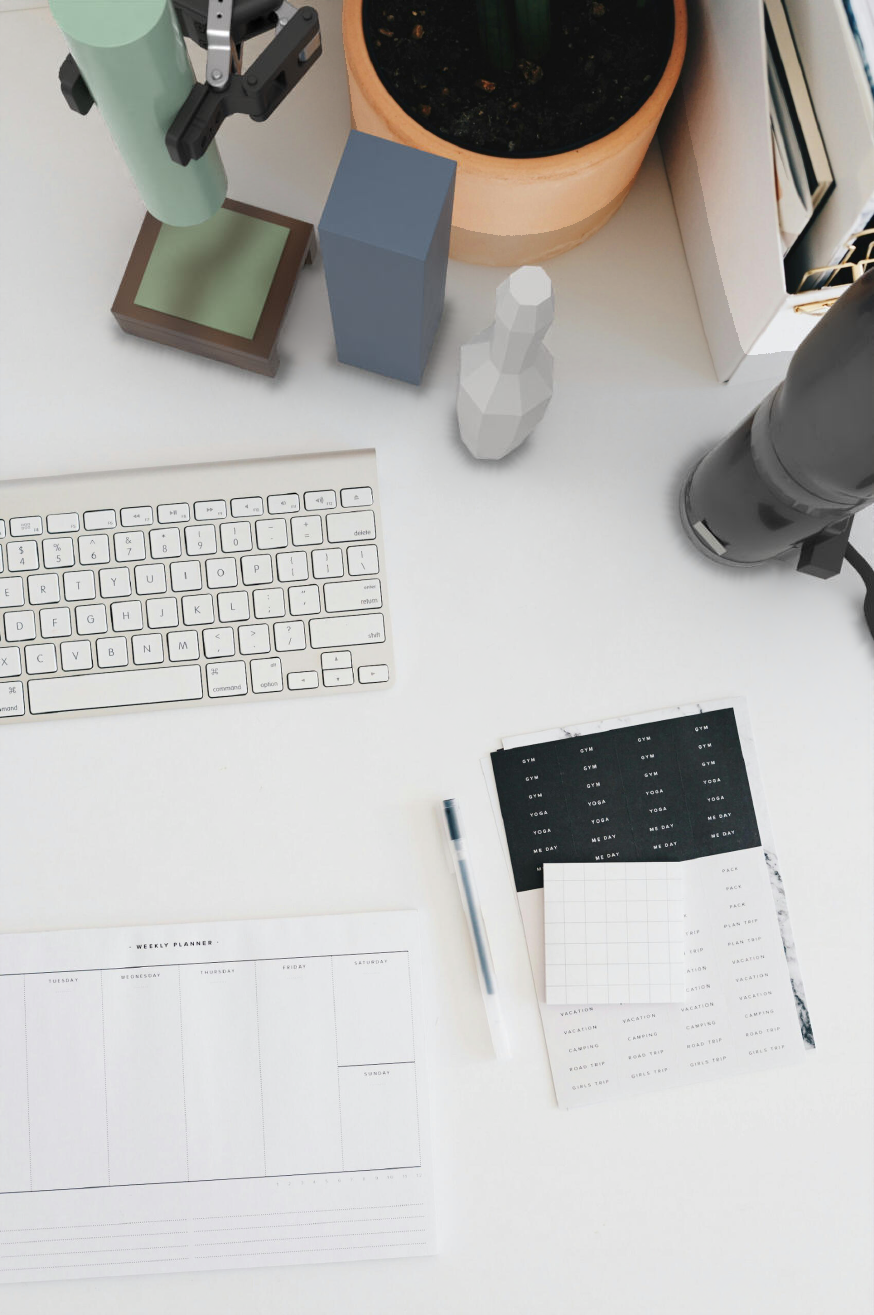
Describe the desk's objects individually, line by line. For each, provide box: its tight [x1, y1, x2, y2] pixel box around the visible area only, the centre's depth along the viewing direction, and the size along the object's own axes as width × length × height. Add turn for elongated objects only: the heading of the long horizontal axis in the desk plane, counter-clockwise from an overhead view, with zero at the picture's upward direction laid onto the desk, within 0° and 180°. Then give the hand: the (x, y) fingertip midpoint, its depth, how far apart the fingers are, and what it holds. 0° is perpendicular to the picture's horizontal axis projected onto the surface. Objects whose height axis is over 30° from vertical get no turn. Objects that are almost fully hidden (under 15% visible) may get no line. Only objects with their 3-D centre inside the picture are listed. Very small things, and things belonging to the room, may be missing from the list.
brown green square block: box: [110, 197, 319, 379], centre depth 69 cm, size 12×11×4 cm
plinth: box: [317, 128, 458, 387], centre depth 62 cm, size 6×6×18 cm
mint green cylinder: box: [47, 0, 229, 227], centre depth 51 cm, size 6×6×15 cm
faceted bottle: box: [455, 265, 556, 461], centre depth 60 cm, size 6×6×22 cm
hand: (123, 127), depth 50 cm, fingers closed on mint green cylinder, 5 cm apart
